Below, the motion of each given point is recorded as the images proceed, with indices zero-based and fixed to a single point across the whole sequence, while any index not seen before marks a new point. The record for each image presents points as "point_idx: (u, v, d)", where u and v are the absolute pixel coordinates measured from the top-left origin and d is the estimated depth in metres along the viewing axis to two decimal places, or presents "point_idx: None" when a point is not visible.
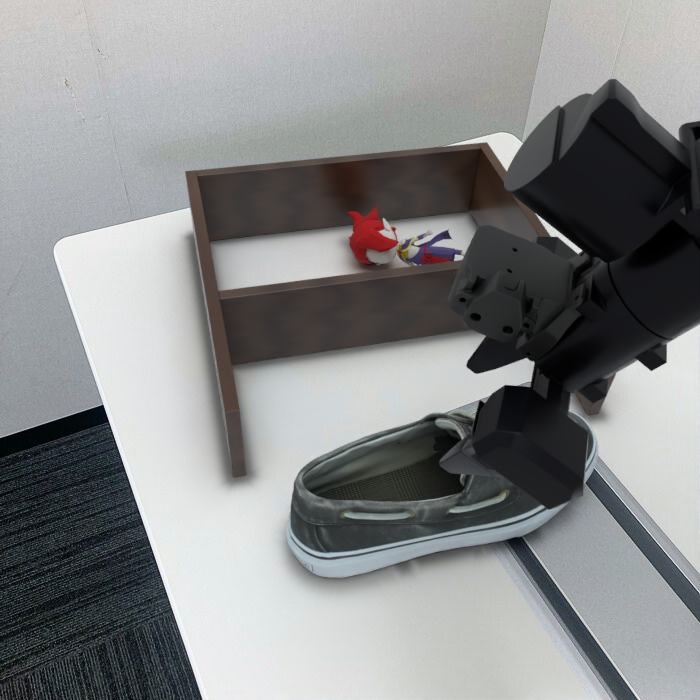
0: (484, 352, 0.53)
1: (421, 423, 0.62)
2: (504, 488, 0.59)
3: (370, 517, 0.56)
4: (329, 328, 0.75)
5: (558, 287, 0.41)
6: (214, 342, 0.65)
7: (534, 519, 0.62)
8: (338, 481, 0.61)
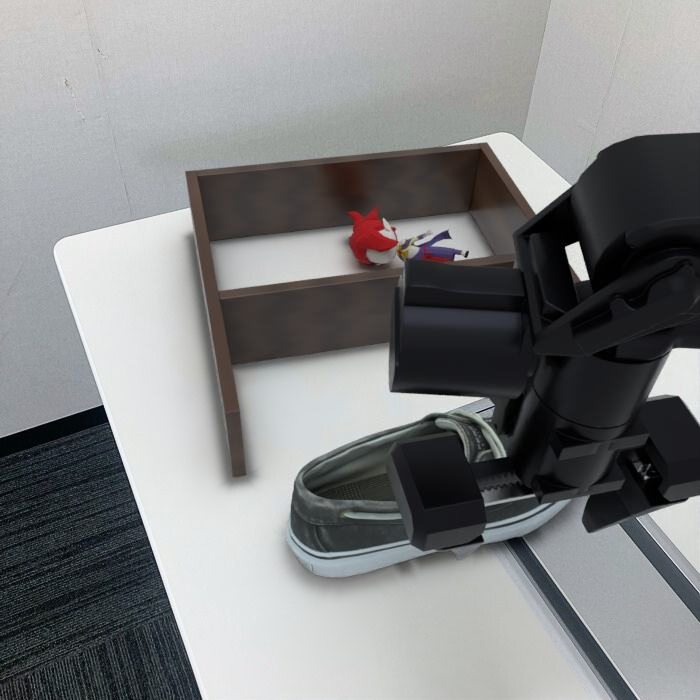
0: (590, 504, 0.49)
1: (421, 423, 0.62)
2: None
3: (370, 517, 0.56)
4: (329, 328, 0.75)
5: None
6: (214, 342, 0.65)
7: (534, 519, 0.62)
8: (338, 481, 0.61)
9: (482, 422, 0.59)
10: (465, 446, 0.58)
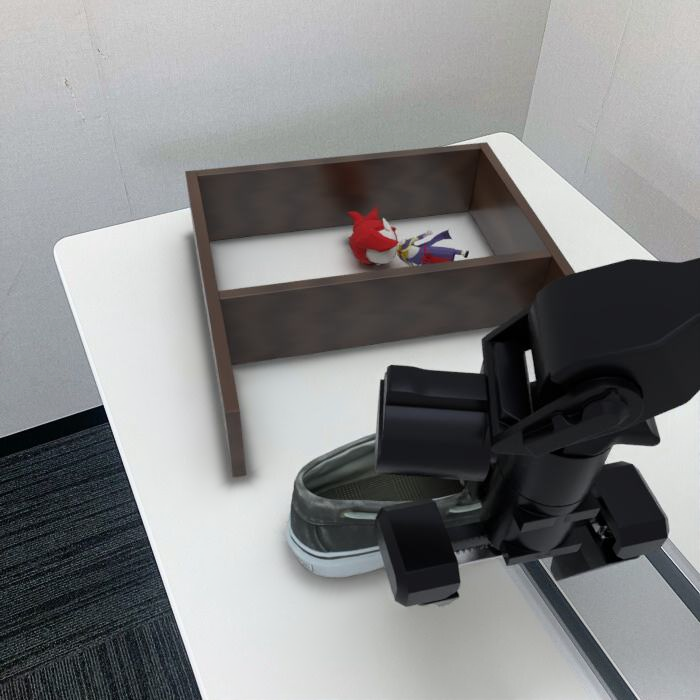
0: (557, 555, 0.56)
1: None
2: None
3: (370, 517, 0.56)
4: (329, 328, 0.75)
5: None
6: (214, 342, 0.65)
7: None
8: (338, 481, 0.61)
9: None
10: None
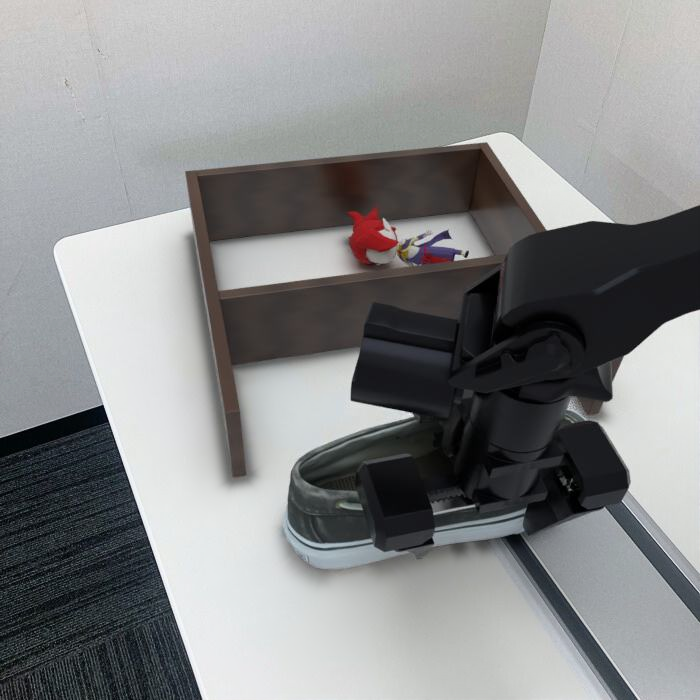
0: (528, 511, 0.59)
1: None
2: None
3: None
4: (329, 328, 0.75)
5: None
6: (214, 342, 0.65)
7: None
8: (336, 474, 0.62)
9: None
10: None
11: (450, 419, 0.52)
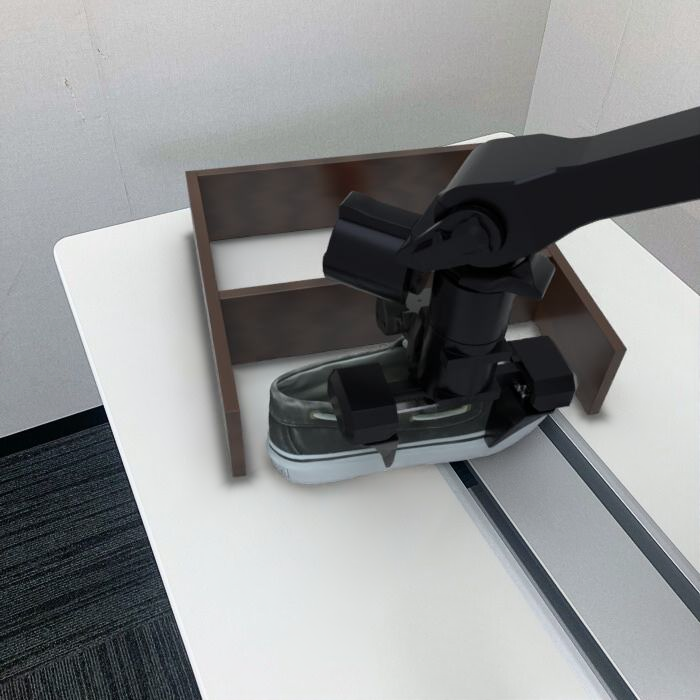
0: (488, 424, 0.64)
1: (392, 348, 0.68)
2: None
3: None
4: (329, 328, 0.75)
5: None
6: (214, 342, 0.65)
7: None
8: (315, 400, 0.67)
9: None
10: None
11: (412, 328, 0.57)
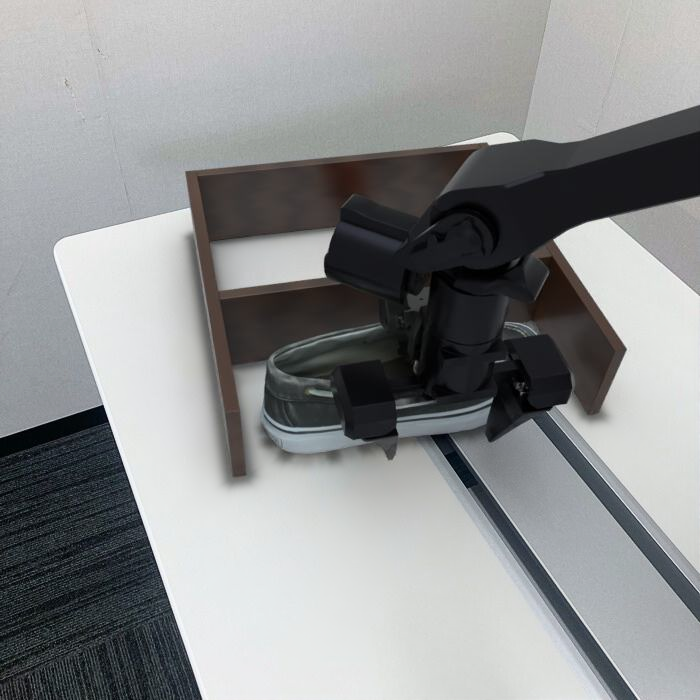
0: (489, 419, 0.66)
1: None
2: None
3: (331, 395, 0.64)
4: (329, 328, 0.75)
5: None
6: (214, 342, 0.65)
7: (482, 413, 0.69)
8: (308, 372, 0.70)
9: None
10: None
11: (413, 326, 0.59)
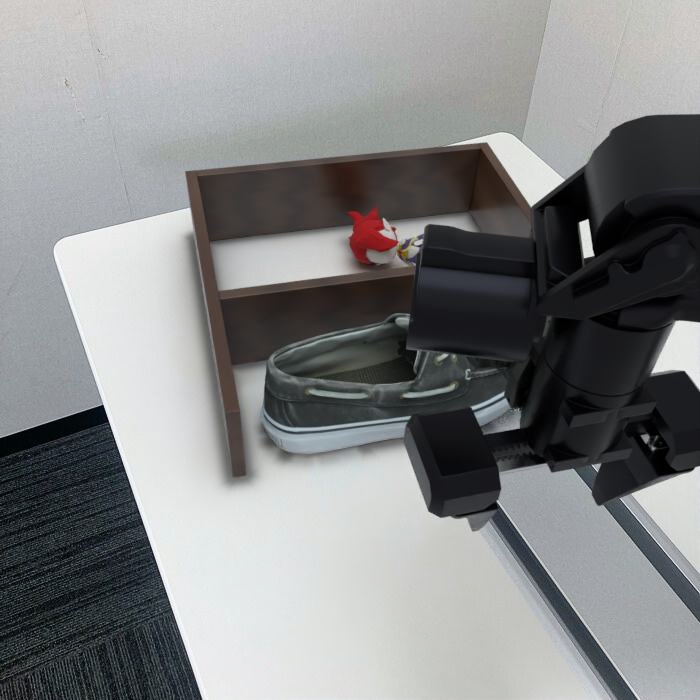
0: (599, 477, 0.51)
1: (384, 324, 0.70)
2: (453, 379, 0.67)
3: (331, 395, 0.64)
4: (329, 328, 0.75)
5: None
6: (214, 342, 0.65)
7: (482, 413, 0.69)
8: (308, 372, 0.70)
9: None
10: None
11: (516, 364, 0.44)
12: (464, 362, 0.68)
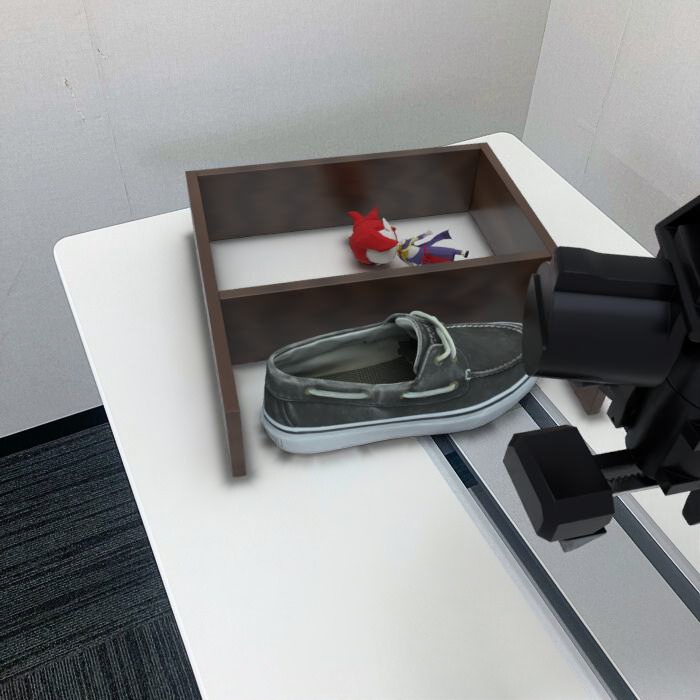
0: (692, 496, 0.50)
1: (384, 324, 0.70)
2: (453, 379, 0.67)
3: (331, 395, 0.64)
4: (329, 328, 0.75)
5: None
6: (214, 342, 0.65)
7: (482, 413, 0.69)
8: (308, 372, 0.70)
9: (436, 321, 0.67)
10: (418, 339, 0.65)
11: None
12: (464, 362, 0.68)
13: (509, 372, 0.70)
